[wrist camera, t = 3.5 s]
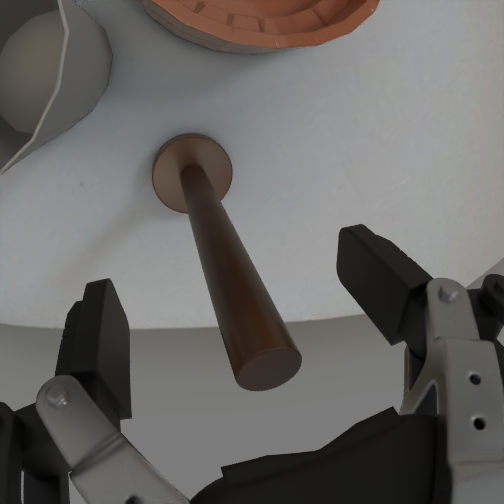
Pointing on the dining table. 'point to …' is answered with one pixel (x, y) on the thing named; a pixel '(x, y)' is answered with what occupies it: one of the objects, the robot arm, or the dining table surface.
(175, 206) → the upright rod on disc
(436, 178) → the dining table surface
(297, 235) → the dining table surface
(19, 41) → the cup
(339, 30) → the bowl
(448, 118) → the dining table surface
